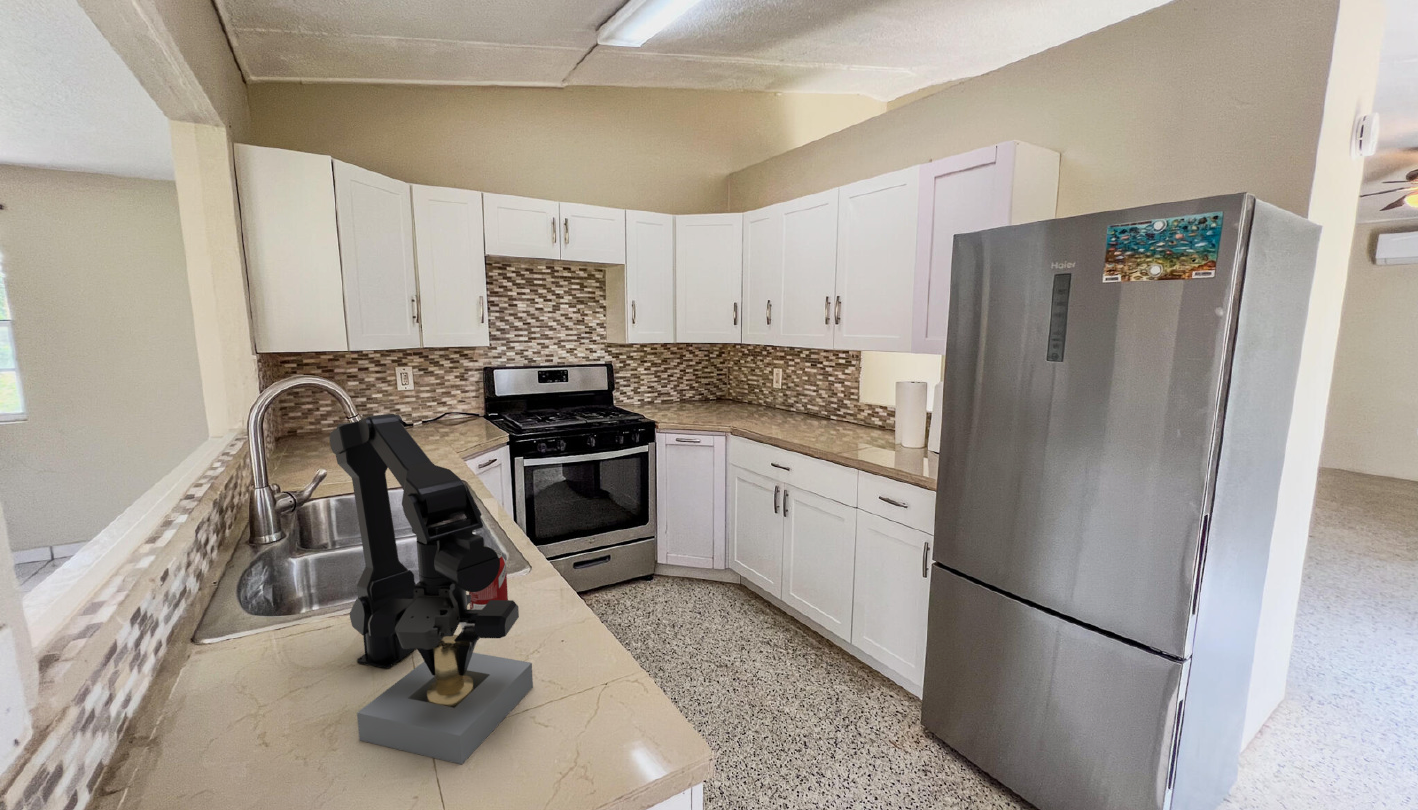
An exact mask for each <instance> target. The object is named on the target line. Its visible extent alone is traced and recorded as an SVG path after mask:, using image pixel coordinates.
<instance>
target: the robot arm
mask: <svg viewBox="0 0 1418 810" xmlns="http://www.w3.org/2000/svg"><path fill="white" fill-rule="evenodd" d="M329 445H330V449H331V451H332V453H333V454H334V455H335V458H336V459H335V460H336V463H337V465H338V466H339V467H340V468H341V469H343V471H344V472H345V473H346V474H347V475H348V476H349V477H350V478H351V482H352V487H353V488H352V489H353V494H354V500H355V501H354V502H355V506H356V513H357V519H358V525H359V533H360V538H361V544H362V552H363V558H364V565H365V567H364V569H363V571H362V573H361V575H360V578H359V580H358V581H357V584H356V592H357V598H356V599H355V601H354V603H353V605H352V607H351V610H350V611H349V618H350V622H351V627H352V628H353V629H355V630H356V631H357V632H358V633H359V634H360V635H361V636H363V638H362V639H363V648H364V654H363V655H362V656H360V657H358V658H357V659H356V663H358V664H361V665H367V666H372V667H379V668H383V669H390V668H391V667H393V666H394V665H395V664H397V663H398V662H400V661H401V660H403V659H404V658H405V657H407V656H408V655H409V654H411V653H412V652H414V651H415V650H417V652H418V653H419V654H420V656H421V657H422V660H423V662H424V661H425V663H426V665H427V667H428V668H429V670H430V672H431V674H432V675H435V666H434V652H433V648H435V647H436V646H437V645H438V644H439V643H440V641H441V640H442V639H443V637H446V636H453V635H455V633H456V631H457V628H458V627H459V625H460V626H461V632H459V634H457V635H458V636H457V637H456V639H455V640H454V641H455V642H456V643H457V644H458V646H459V671H460V676H464V674H465V673H466V671H467V668H468V665H469V662H470V659H471V657H472V654H473V652H474V651H475V648H476V645H477V642H478V641H479V640H480V639H502V638H504V637H507V635H508V633H509V632H510V631H511V629H512V628H513V626H514V625H515V623H516V622H517V620H518V619H519V606H518V604H517V603H516V602H515V600H513V599H512V600H511V599H508V600H490V601H489V602H488V603H487V604H486V605H485V607H476V608H473V609H470V608H469V609H468V605H470V602H471V595H469V594H467V592H468V593H469V592H479V591H481V590H483V589H485V588H487V587H488V586H489V585H490V584H491V583H492V582H493V581H494V580H495V578H496V576H497V574H498V572H499V568H500V559H499V557H498V555H497V553H496V552H495V551H494V550H495V549H494V550H493V548H492V547H490V546H488V545H485V542H484V541H485V538H484V537H483V536H482V535H479V534H473V531H477V530H479V529H483V527H484V524H483V521H482V519H481V516H482V512H481V510H480V508H479V506H478V505H477V502H476V500H475V498H474V497H473V495H472V493H471V492H470V488H469V486H468V485H467V484H466V483H465V482H464V481H463V480H462V478H460V477H459V476H458V475H457V474H455V473H454V472H453V471H452V470H451V469H449V468H445V467H444V466H443V467H442V466H440V465H437V464H435V463H434V462H432V460H431V459H430V458H429V457H428V455H427V454H426V453H425V451H423V449H422V448H421V446H420V445H419V444H418V442H417V441H416V440H415V439H414V438H413V436H412V435H411V433H409V431H408V430H407V429H406V427H405V426H404V421H403V418H402V417H401V415H399V414H395V413H385V414H383V413H382V414H376V415H367V416H366V417H364V418H360V419H359V420H356V421H353V422H344V423H338V424H337V425H336V428H335V429H333V430H332V431H331V432H330V433H329ZM388 469H389V471H390V472H391V473H392V475H393V477H394V478H395V479H396V481H397V482H398V484H399V485H400V486H401V488H402V490H403V492H402V498H401V506H402V509H403V514H404V516H405V518H406V520H407V522H408V523H409V525H410V527H411V532H412V534H414V535H415V537H416V550H417V565H418V580H419V581H417V583H416V582H415V574H414V573H413V571H412V570H411V569H408V568H407V567H406V566H405V565H404V564H403V563H402V562H401V561H400V559H399V553H398V548H397V540H396V534H395V527H394V520H393V514H392V508H391V501H390V495H389V490H388V489H389V488H388V482H387V481H388V480H387V475H386V473H387V470H388ZM463 516H465V518H463V519H462V518H461V519H459V520H455V521H451V520H453V519H458V518H460V517H463ZM446 521H450V522H447V523H446Z"/></svg>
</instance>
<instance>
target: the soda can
mask: <svg viewBox="0 0 1418 810" xmlns="http://www.w3.org/2000/svg"><path fill="white" fill-rule="evenodd" d="M492 549H493V548H492ZM493 550H494V551H495V552H496V553H497V555H498V557H499V559H500V568H499V572H498V574H497V576H496V578H495V580H494V581H493V582H492V583H491V584H490V585H489V586H488V587H487V588H485V589H483V590H481V591H479V592H468V595H471V602H470V603H469V609H473V608H476V607H485V605H486V604H487V603H488V602H489V601H490V600H509V595H508V594H509V593H508V591H509V590H508V578H507V574H508V572H507V561H506V559H505V558H504V556H503V552H502V551H501V550H499V549H493Z"/></svg>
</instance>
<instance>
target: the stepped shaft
mask: <svg viewBox="0 0 1418 810" xmlns="http://www.w3.org/2000/svg"><path fill="white" fill-rule="evenodd" d="M458 635H459V634H454V635H453V636H446V637H443V639H442V640H441V641H440V643H439V644H438V645H437V646H436V647H435V648H433V652H434V666H435V680H436V682H435V683H433V684H432V685H431V686H430V687H429V688H428V690H427V702H428V703H433V704H438V705H442V706H447V707H452V708H455V707H456V706H457V705H458V704H459V703H460V702H462V701H463V700H464V699H465V698H466V697H467V696H468V695H469V694H470V693H471V692H472V691H473V690H474V687H473V680H472V678H471V677H469V676H467V675H464V676H460V671H459V646H458V644H457V643H456V642H455V641H454V640H455V639H456V637H457V636H458Z"/></svg>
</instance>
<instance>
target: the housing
mask: <svg viewBox="0 0 1418 810" xmlns="http://www.w3.org/2000/svg"><path fill="white" fill-rule="evenodd" d="M464 675H467V676H469V677H471V678H472V680H473V687H474V690H473V691H472V692H471V693H470V694H469V695H468V696H467V697H466V698H465V699H464V700H463V701H462V702H460V703H459V704H458V705H457V706H456V707H455V708H452V707H447V706H442V705H438V704H433V703H428V702H427V690H428V688H429V687H430V686H431V685H432V684H433V683H435V682H436V680H435V675H432V674H431V672H430V670H429V668H428V667H427V665H426V663H425V661H424V660H423V662H421V663H420V664H418V665H417V666H416V667H415V668H413V669H412V670H411V671H410V672H408V673H407V674H406V675H405V676H403V677H402V678H401V679H399V680H398V681H396V682H395V683H394V684H393V685H391V686H389V688H387V689H386V690H385V691H383V692H382V693H381V694H380V695H378V696H377V697H376V698H374V699H372V701H370V702H369V703H367V705H365V706H364V707H363V708H361V709H360V710H359V711H357V712H356V718H357V727H358V738H359V741H361V742H366V743H370V744H374V745H378V746H382V747H386V748H391V749H395V750H400V751H404V752H407V753H412V754H416V755H421V756H425V757H429V758H433V759H436V760H437V759H438V760H442V761H446V762H451V763H454V764H458V765H463V764H464V763H465V762H466V761H467V760H468V759H469V757H470V756H472V754H473V753H474V752H475V751H476V750H477V749H478V748H479V747H480V746H481V744H482V743H483V742H484V741H485V740H486V739H487V738H488V737H489V736H490V735H491V733H493V732H494V730H495V729H496V728H497V727H498V726H499V724H500V723H502V722H503V720H504V719H505V718H506V717H507V716H508V715H509V714H510V712H512V711H513V709H515V707H516V706H517V705H519V703H520V702H521V701H522V699H523V698H524V697H525V696H526V695H527V694H528V693H529V692H530V691H531V689H533V687H534V684H533V679H534V677H533V663H532V662H530V661H526V660H525V661H524V660H517V659H512V658H508V657H507V658H506V657H501V656H496V655H490V654H484V653H477V652H474V651H473V654H472V657H471V659H470V662H469V665H468V668H467V671H466V673H465V674H464Z"/></svg>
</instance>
